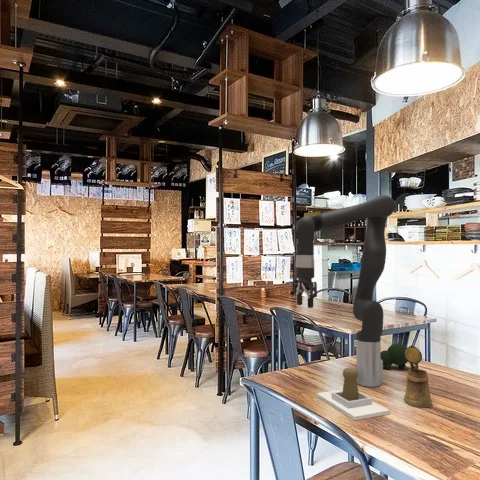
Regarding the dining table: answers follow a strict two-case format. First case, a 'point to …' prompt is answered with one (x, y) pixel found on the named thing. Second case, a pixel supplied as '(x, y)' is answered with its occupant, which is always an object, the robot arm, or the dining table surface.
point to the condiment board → (353, 405)
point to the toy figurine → (394, 356)
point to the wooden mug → (416, 380)
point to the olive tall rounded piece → (350, 384)
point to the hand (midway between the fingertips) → (304, 306)
